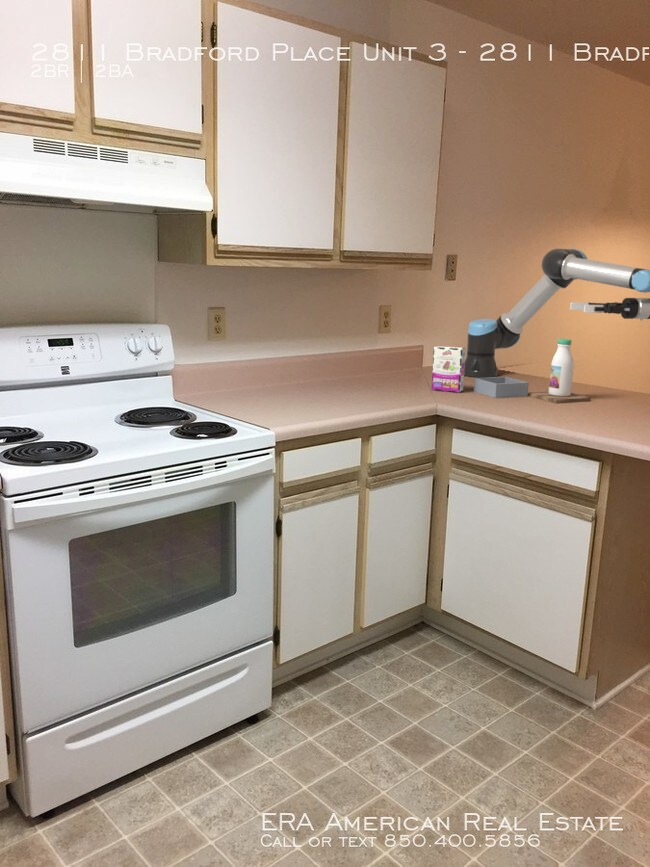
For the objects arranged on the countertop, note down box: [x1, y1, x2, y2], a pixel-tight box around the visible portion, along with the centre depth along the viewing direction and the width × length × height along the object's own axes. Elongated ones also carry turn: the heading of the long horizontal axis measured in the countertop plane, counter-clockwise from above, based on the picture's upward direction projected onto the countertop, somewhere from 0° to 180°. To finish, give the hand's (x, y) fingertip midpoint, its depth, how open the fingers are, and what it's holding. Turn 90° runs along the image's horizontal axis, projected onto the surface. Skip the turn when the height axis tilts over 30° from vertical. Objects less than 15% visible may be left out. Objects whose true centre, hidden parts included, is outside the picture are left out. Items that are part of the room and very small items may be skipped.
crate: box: [473, 376, 530, 399], centre depth 268 cm, size 14×14×5 cm
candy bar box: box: [431, 345, 467, 394], centre depth 271 cm, size 11×5×16 cm, turn 62°
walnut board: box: [528, 390, 591, 404], centre depth 262 cm, size 15×15×1 cm
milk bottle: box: [548, 338, 575, 396], centre depth 260 cm, size 8×8×20 cm
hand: (577, 307), depth 264 cm, fingers open, 13 cm apart
